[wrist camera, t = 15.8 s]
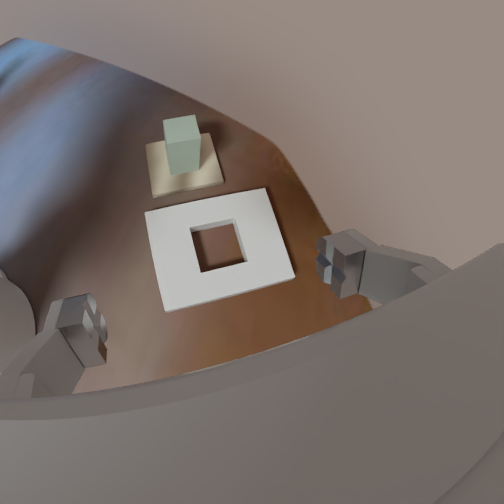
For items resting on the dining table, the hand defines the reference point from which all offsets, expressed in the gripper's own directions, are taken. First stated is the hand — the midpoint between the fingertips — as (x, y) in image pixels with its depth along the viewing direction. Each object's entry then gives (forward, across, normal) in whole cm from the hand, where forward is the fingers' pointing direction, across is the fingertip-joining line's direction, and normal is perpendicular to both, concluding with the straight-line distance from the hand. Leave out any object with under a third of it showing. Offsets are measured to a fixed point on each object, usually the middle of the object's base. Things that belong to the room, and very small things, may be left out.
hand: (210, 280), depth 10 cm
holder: (+27, -5, +14) cm, 31 cm away
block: (+37, -3, +3) cm, 38 cm away
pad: (+38, -3, +4) cm, 38 cm away
